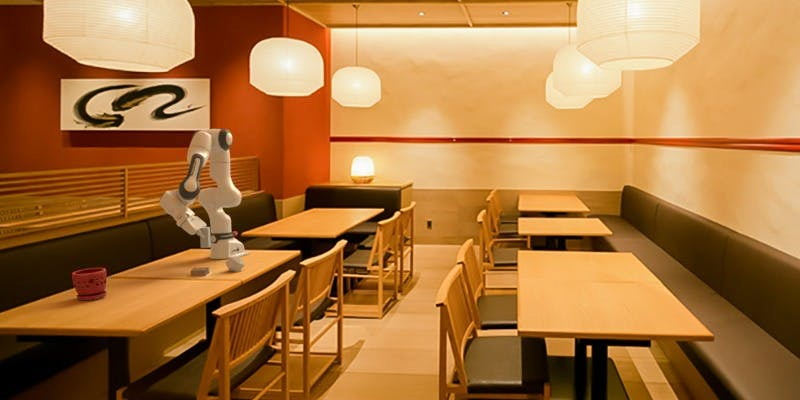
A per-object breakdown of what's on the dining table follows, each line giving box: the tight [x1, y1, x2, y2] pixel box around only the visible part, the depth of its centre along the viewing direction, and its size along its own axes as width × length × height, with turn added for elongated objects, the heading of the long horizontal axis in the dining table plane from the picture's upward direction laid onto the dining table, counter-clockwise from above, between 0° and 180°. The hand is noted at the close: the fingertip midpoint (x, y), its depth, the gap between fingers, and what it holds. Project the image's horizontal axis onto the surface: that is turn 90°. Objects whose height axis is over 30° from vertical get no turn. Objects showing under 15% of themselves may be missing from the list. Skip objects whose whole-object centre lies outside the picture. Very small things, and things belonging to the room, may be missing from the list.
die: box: [225, 256, 246, 273], centre depth 331 cm, size 8×9×10 cm
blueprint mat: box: [188, 272, 212, 278], centre depth 324 cm, size 14×12×1 cm
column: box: [199, 226, 211, 249], centre depth 335 cm, size 4×4×10 cm
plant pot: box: [71, 267, 108, 301], centre depth 280 cm, size 13×13×12 cm
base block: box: [190, 266, 211, 276], centre depth 323 cm, size 7×7×3 cm
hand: (206, 236), depth 335 cm, fingers closed on column, 4 cm apart
